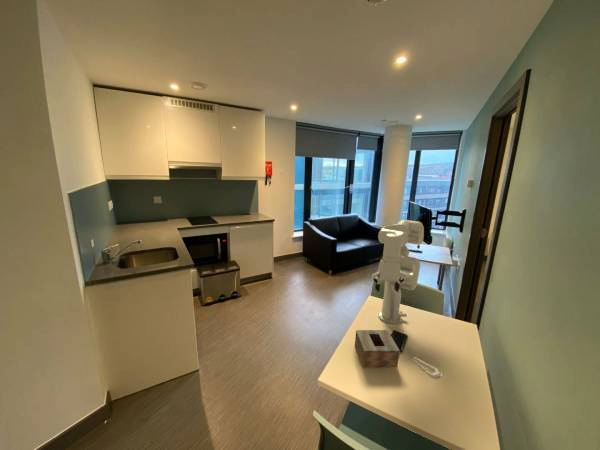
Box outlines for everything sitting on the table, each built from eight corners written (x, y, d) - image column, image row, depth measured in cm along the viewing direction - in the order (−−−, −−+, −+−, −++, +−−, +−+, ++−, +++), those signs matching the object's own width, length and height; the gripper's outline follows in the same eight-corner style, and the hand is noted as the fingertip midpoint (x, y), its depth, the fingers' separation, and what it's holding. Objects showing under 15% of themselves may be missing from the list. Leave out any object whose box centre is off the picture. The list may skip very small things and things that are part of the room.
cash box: (385, 345, 123) (387, 330, 121) (397, 367, 109) (399, 350, 107) (354, 345, 122) (356, 330, 120) (362, 367, 109) (364, 350, 107)
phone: (408, 335, 130) (402, 351, 118) (407, 336, 130) (402, 353, 118) (393, 329, 134) (385, 345, 122) (392, 331, 135) (385, 346, 122)
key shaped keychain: (408, 364, 113) (409, 361, 113) (413, 358, 116) (413, 355, 116) (439, 381, 103) (439, 377, 103) (443, 374, 107) (443, 371, 106)
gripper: (404, 256, 121) (400, 287, 125) (370, 255, 121) (367, 286, 125) (411, 261, 114) (407, 294, 118) (376, 261, 113) (372, 294, 117)
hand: (386, 290), depth 121 cm, fingers open, 9 cm apart
